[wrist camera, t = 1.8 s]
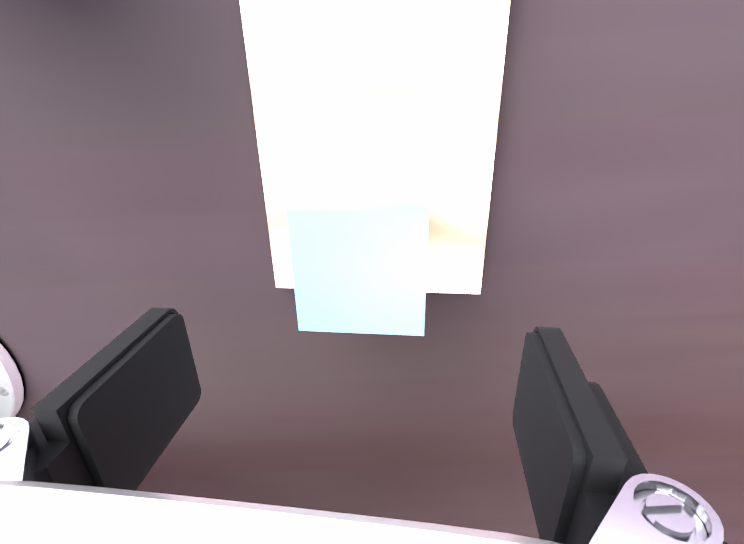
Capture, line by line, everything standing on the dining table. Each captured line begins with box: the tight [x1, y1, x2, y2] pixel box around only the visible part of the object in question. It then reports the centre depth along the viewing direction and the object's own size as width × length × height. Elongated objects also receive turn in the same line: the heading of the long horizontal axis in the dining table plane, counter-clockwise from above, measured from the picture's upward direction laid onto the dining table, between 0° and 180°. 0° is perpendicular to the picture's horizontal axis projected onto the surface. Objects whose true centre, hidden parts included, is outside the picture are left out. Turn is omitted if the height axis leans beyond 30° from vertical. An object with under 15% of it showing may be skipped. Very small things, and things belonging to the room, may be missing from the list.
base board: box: [239, 0, 511, 294], centre depth 21 cm, size 20×12×2 cm, turn 2°
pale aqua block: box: [286, 174, 429, 336], centre depth 20 cm, size 5×5×7 cm
